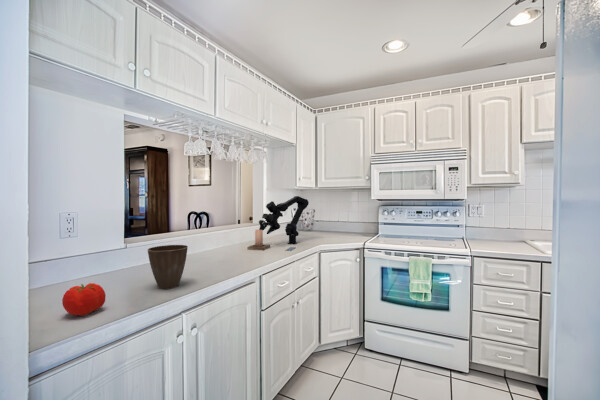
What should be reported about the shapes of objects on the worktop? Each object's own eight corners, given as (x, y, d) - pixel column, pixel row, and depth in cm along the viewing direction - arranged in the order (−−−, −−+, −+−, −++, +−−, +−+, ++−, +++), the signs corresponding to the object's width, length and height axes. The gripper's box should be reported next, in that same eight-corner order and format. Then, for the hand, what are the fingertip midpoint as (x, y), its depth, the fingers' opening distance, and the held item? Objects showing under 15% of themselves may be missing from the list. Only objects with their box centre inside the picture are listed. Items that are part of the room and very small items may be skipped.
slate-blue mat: (281, 247, 203) (281, 246, 203) (295, 248, 200) (295, 247, 200) (275, 250, 192) (275, 249, 192) (290, 250, 189) (290, 250, 189)
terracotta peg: (257, 247, 199) (257, 229, 198) (263, 248, 197) (263, 229, 197) (254, 248, 194) (253, 230, 193) (260, 249, 192) (260, 230, 192)
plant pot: (139, 289, 110) (138, 249, 110) (170, 279, 124) (170, 243, 124) (166, 294, 104) (165, 252, 104) (195, 283, 118) (195, 245, 118)
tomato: (57, 323, 81) (57, 293, 81) (70, 309, 91) (69, 283, 91) (101, 316, 85) (101, 288, 85) (108, 304, 95) (108, 278, 95)
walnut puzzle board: (255, 247, 203) (255, 244, 203) (270, 248, 199) (270, 244, 199) (247, 250, 191) (247, 246, 191) (263, 251, 188) (263, 247, 188)
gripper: (260, 209, 208) (248, 224, 200) (277, 209, 195) (265, 226, 187) (268, 219, 214) (257, 234, 206) (285, 220, 201) (273, 237, 193)
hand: (262, 233), depth 198 cm, fingers open, 9 cm apart
